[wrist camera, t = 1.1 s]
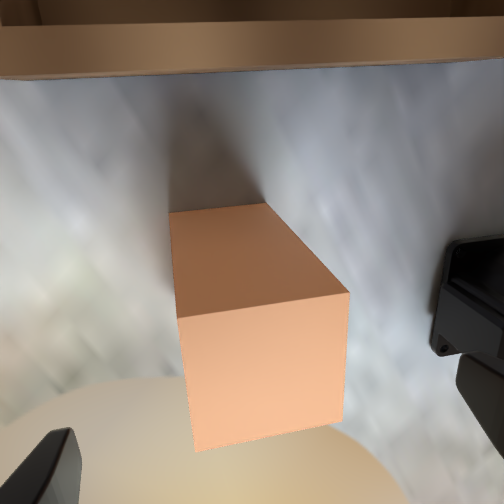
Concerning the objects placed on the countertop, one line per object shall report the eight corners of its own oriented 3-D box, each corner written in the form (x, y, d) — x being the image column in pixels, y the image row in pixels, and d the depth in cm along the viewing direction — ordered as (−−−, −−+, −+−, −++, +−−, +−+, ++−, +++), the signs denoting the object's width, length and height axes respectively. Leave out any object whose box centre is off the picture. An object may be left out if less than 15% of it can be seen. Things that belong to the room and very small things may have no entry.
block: (266, 202, 17) (349, 292, 9) (268, 287, 18) (341, 421, 11) (168, 212, 16) (176, 318, 9) (180, 300, 17) (195, 452, 10)
